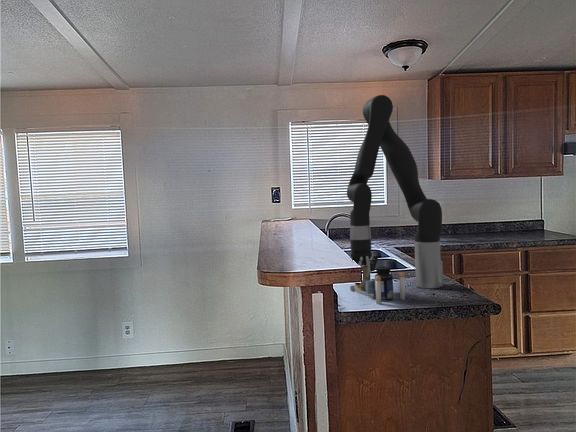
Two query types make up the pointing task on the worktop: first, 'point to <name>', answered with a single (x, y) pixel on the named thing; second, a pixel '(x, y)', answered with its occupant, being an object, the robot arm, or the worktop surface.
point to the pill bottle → (385, 283)
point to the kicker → (366, 282)
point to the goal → (378, 287)
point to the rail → (362, 292)
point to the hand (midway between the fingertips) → (362, 283)
